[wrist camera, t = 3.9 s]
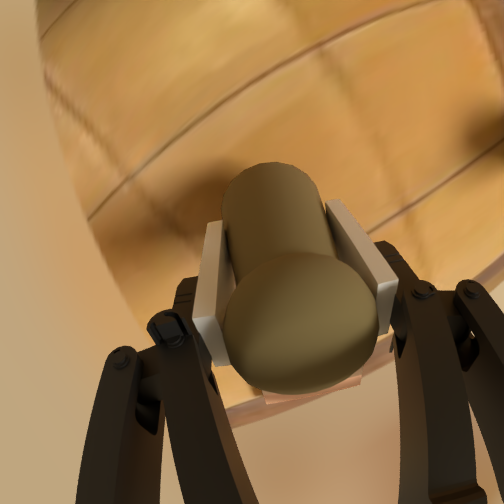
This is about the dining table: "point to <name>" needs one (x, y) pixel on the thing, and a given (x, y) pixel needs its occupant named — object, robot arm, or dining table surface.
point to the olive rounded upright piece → (291, 287)
